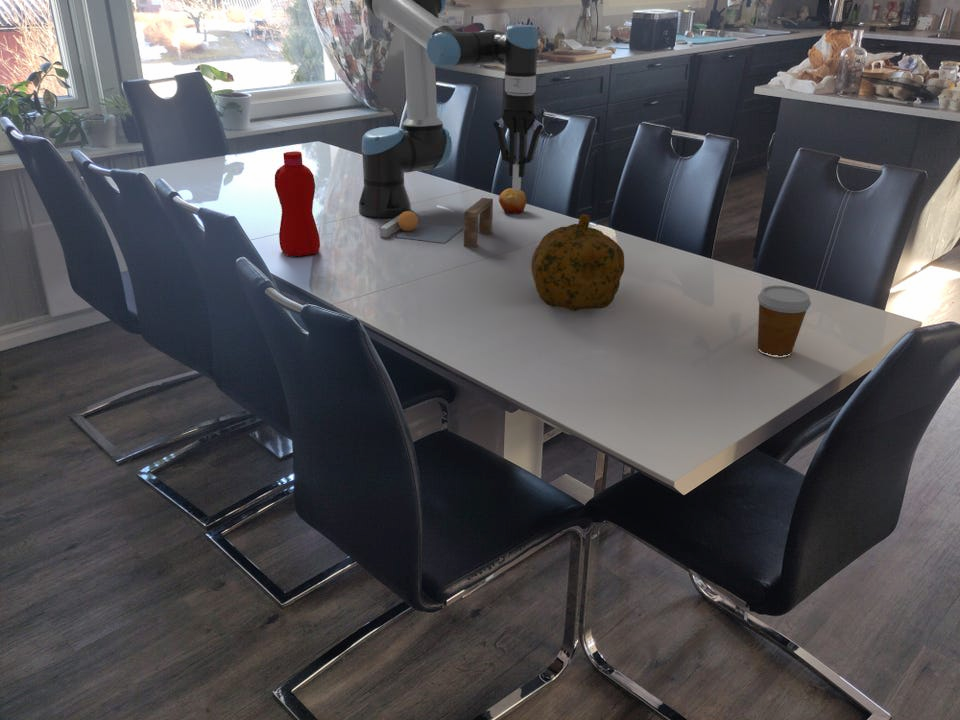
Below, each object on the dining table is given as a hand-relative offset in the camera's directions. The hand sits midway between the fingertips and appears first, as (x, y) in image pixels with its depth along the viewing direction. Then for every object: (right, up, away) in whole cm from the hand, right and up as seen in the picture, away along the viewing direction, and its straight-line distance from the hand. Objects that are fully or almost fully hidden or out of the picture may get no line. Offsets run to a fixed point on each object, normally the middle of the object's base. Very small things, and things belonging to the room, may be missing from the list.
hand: (516, 189), depth 212 cm
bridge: (-10, -11, +9) cm, 18 cm away
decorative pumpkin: (+11, -31, -30) cm, 45 cm away
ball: (-29, -6, +13) cm, 32 cm away
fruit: (0, 0, +33) cm, 33 cm away
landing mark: (-23, -9, +13) cm, 28 cm away
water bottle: (-55, -16, -2) cm, 57 cm away
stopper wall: (-33, -8, +16) cm, 37 cm away
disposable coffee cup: (+48, -42, -51) cm, 82 cm away
